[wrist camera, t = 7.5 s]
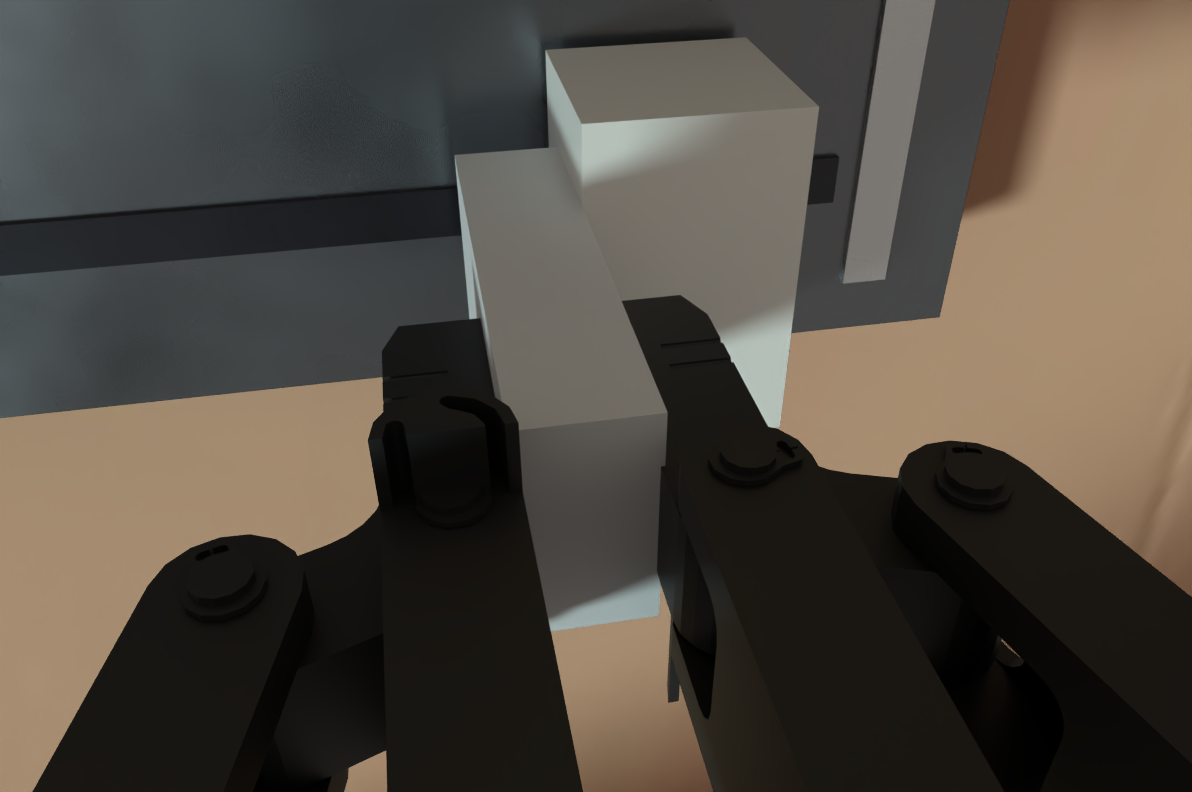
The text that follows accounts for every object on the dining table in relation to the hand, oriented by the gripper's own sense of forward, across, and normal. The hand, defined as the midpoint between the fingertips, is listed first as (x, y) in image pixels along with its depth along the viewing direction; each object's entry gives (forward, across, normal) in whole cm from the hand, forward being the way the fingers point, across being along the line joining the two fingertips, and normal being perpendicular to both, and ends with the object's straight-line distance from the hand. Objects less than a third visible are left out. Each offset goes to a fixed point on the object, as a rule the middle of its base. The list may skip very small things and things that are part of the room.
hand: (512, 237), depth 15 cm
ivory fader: (+1, +2, 0) cm, 3 cm away
